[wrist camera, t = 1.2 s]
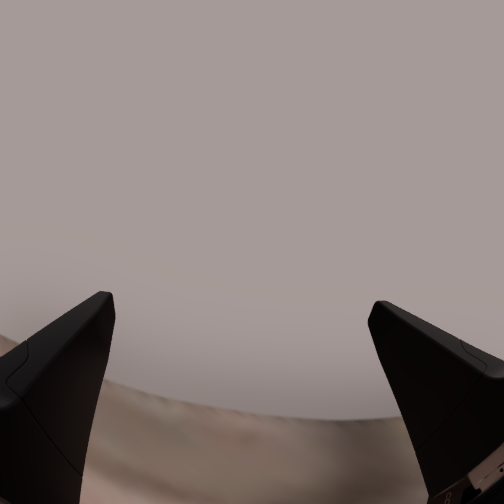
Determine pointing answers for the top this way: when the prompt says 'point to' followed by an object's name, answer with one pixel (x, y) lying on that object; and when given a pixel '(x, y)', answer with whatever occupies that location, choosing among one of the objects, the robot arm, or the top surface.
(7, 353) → the robot arm
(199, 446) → the top surface
